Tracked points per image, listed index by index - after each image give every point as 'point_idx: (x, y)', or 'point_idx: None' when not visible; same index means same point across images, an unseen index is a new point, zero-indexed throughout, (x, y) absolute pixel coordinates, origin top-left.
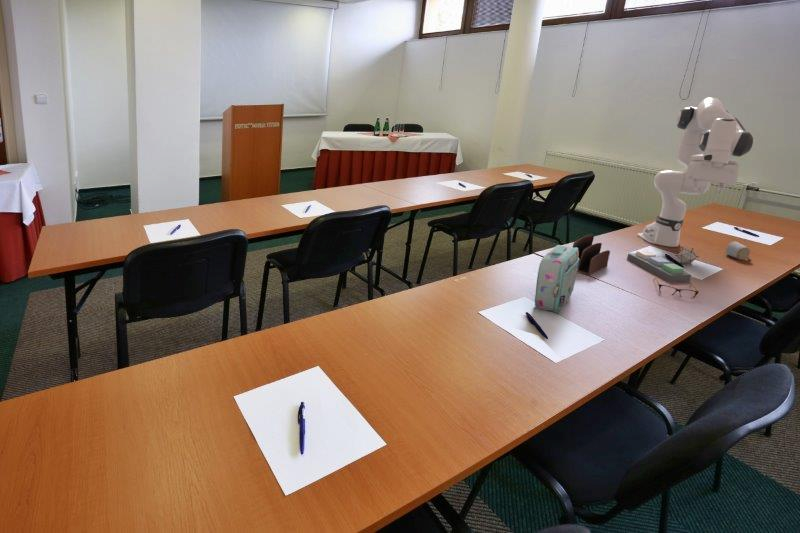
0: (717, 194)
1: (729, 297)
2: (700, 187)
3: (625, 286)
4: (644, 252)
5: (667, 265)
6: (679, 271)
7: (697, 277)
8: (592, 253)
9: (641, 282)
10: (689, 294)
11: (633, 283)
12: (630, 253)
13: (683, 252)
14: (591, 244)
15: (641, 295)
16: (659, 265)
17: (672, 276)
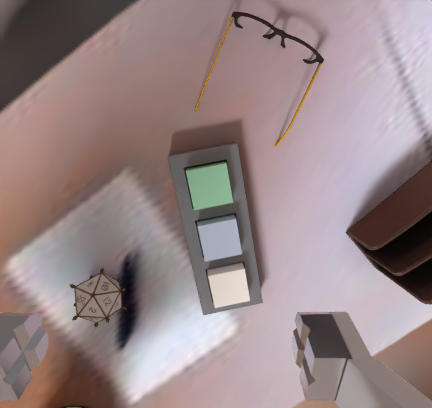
0: (32, 321)
1: (117, 42)
2: (321, 357)
3: (380, 94)
4: (233, 291)
5: (225, 191)
6: (199, 167)
7: (126, 186)
8: (425, 231)
9: (318, 128)
10: (229, 54)
11: (345, 118)
12: (257, 301)
13: (112, 300)
14: (407, 285)
15: (374, 33)
16: (227, 216)
17: (230, 144)
